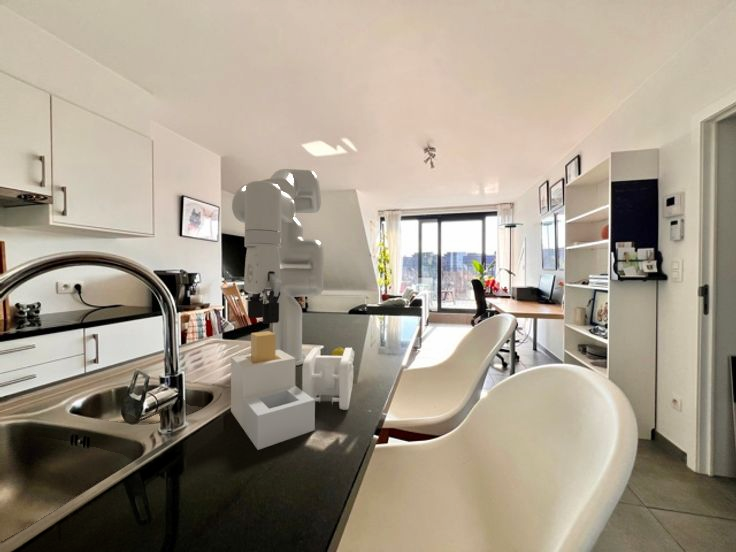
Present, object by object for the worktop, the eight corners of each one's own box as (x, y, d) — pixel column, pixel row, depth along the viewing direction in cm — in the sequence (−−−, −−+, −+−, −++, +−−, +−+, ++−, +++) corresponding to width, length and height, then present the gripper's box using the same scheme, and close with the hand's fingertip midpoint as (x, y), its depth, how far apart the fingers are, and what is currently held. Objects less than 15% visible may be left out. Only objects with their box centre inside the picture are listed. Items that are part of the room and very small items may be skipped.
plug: (250, 369, 67) (250, 333, 67) (268, 366, 70) (269, 331, 70) (256, 374, 64) (256, 336, 64) (275, 370, 67) (275, 334, 67)
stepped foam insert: (231, 411, 67) (231, 357, 67) (279, 398, 74) (279, 349, 74) (257, 449, 53) (257, 381, 53) (314, 430, 60) (315, 369, 60)
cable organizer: (314, 388, 81) (314, 344, 81) (354, 388, 81) (354, 345, 81) (301, 415, 66) (301, 361, 66) (349, 416, 66) (350, 362, 66)
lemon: (349, 370, 95) (349, 345, 95) (346, 376, 90) (346, 349, 90) (332, 369, 96) (332, 344, 96) (328, 376, 90) (328, 349, 90)
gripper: (234, 243, 71) (233, 317, 71) (258, 235, 57) (258, 327, 57) (266, 245, 75) (266, 314, 75) (296, 238, 62) (295, 323, 62)
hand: (262, 320), depth 66 cm, fingers open, 9 cm apart
